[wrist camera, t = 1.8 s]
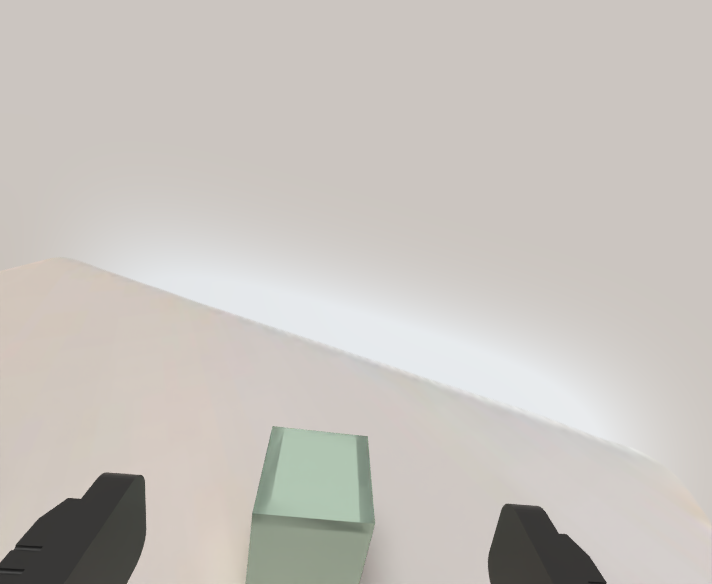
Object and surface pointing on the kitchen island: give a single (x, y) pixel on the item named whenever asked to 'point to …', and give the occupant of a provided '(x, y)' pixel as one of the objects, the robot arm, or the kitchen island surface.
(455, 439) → the kitchen island surface
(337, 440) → the tall sage green box
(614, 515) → the kitchen island surface
